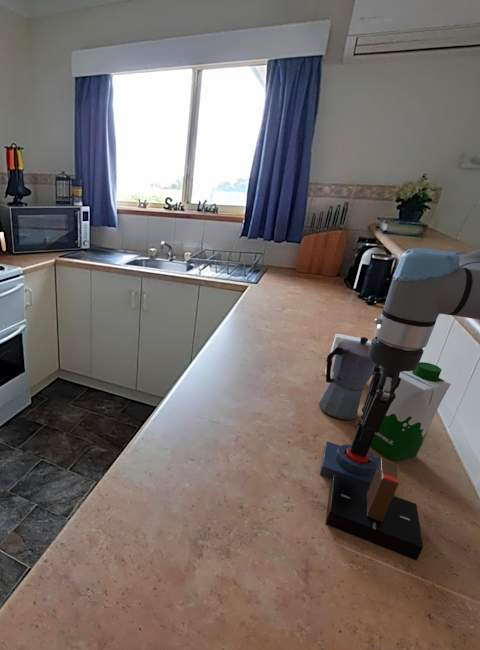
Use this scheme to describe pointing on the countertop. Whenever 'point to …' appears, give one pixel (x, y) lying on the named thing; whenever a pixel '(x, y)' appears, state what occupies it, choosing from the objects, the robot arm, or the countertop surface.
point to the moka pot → (347, 379)
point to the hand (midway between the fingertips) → (358, 452)
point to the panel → (391, 533)
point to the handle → (382, 489)
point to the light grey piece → (337, 340)
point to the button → (357, 457)
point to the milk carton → (410, 413)
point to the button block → (347, 465)
